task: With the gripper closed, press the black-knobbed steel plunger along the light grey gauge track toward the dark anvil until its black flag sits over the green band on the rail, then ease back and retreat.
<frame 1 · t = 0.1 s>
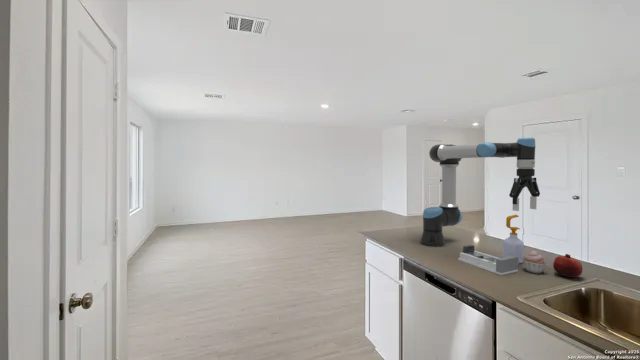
hand: (524, 209, 148), 28 cm above the worktop, fingers open, 13 cm apart
cupcake: (533, 271, 139), on the worktop
soap bottle: (513, 261, 154), on the worktop
plunger: (475, 254, 151), point 4 cm above the worktop, slide at 0.0 cm
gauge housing: (486, 265, 147), on the worktop
fruit: (567, 276, 132), on the worktop
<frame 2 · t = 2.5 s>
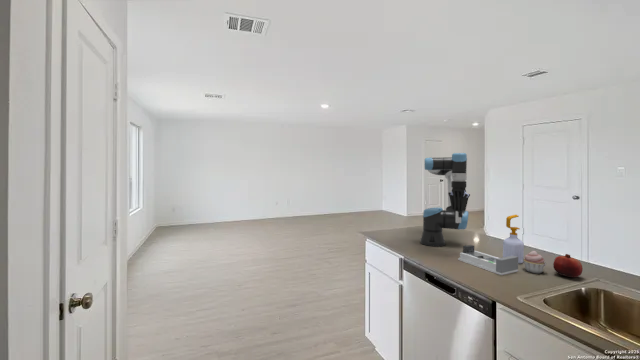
hand: (458, 222, 162), 19 cm above the worktop, fingers closed
nothing on the worktop moved.
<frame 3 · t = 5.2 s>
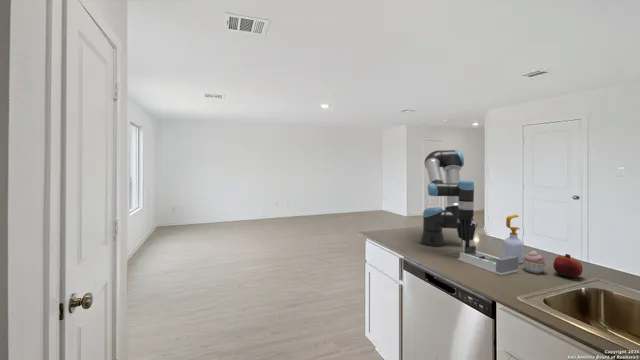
hand: (465, 251, 158), 4 cm above the worktop, fingers closed
plunger: (477, 255, 150), point 4 cm above the worktop, slide at 0.9 cm, touching gripper
everything else where it was.
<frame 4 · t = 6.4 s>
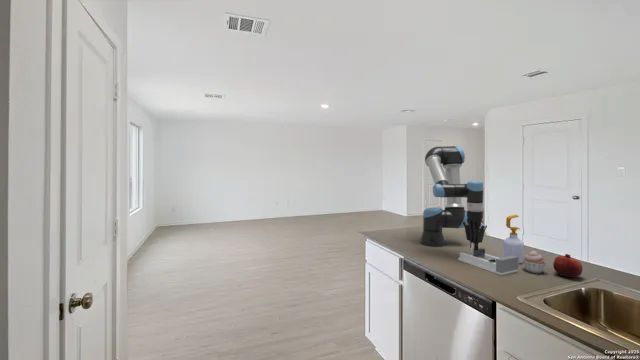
hand: (474, 254, 154), 4 cm above the worktop, fingers closed
plunger: (486, 258, 145), point 4 cm above the worktop, slide at 6.3 cm, touching gripper
everything else where it was.
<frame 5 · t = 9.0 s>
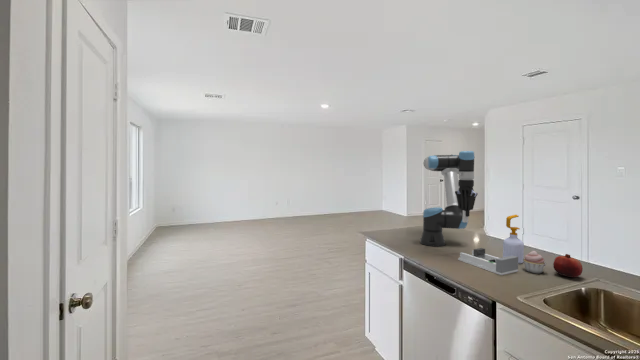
hand: (465, 222, 159), 20 cm above the worktop, fingers closed
plunger: (486, 258, 145), point 4 cm above the worktop, slide at 6.4 cm
everything else where it was.
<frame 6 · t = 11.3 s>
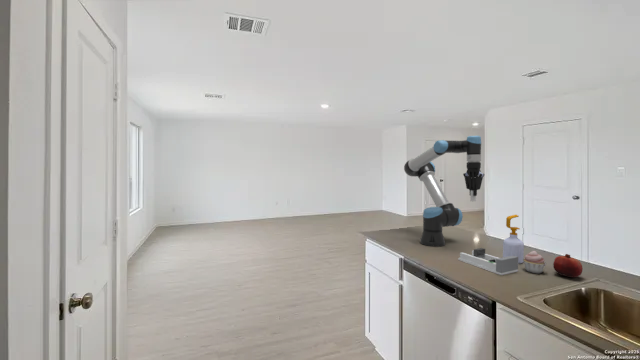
hand: (473, 201, 174), 29 cm above the worktop, fingers closed
nothing on the worktop moved.
at the end: plunger slide at 6.4 cm; the gripper is holding nothing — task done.
